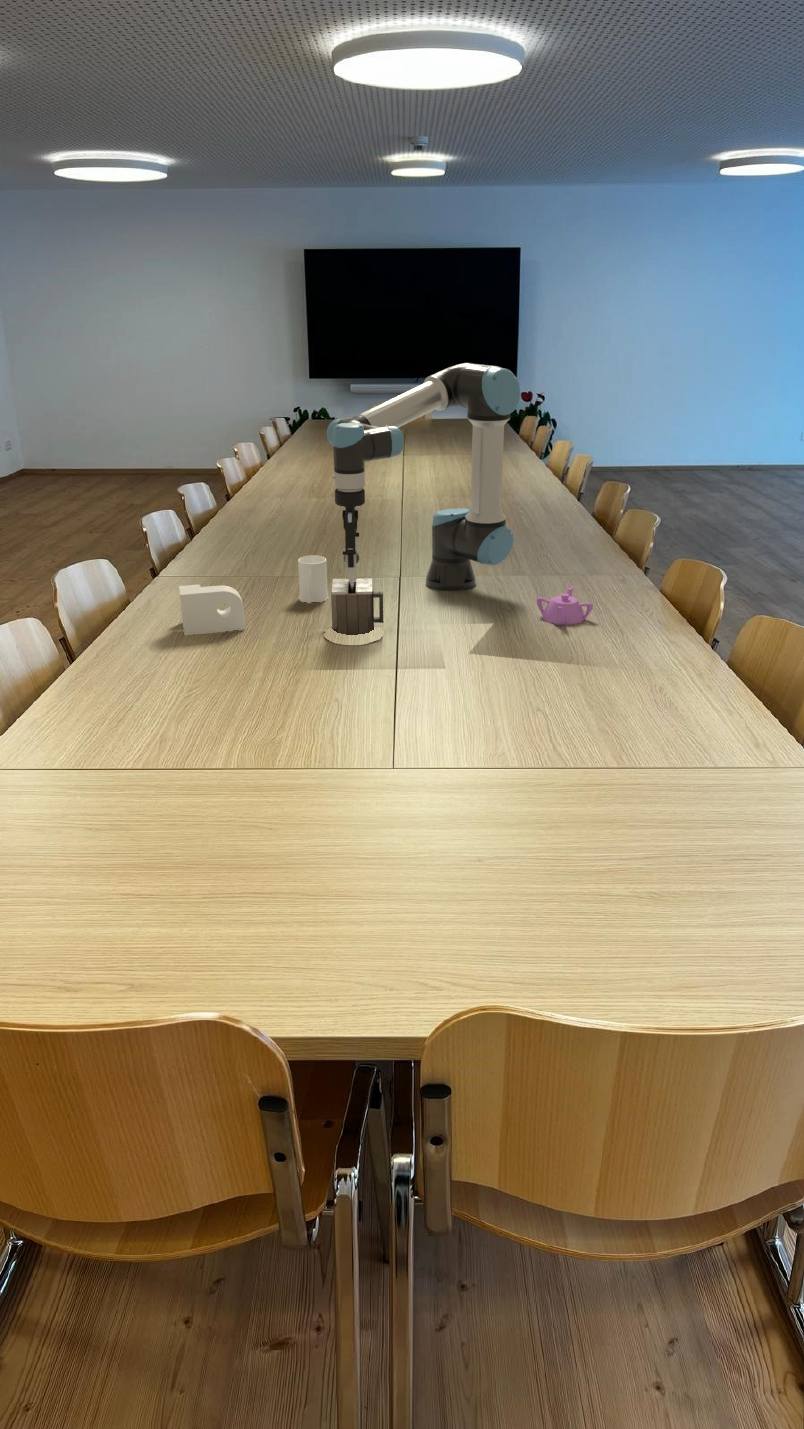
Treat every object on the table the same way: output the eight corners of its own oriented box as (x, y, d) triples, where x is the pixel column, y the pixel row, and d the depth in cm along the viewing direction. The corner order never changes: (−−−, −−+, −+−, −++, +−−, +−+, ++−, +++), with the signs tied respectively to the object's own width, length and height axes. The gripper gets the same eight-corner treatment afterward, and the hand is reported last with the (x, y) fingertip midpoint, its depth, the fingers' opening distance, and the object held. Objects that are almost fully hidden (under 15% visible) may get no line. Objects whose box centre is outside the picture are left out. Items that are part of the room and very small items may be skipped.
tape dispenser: (185, 640, 257) (180, 595, 251) (182, 626, 266) (178, 582, 260) (246, 634, 260) (242, 589, 255) (241, 620, 269) (238, 577, 264)
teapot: (569, 614, 273) (571, 584, 269) (595, 631, 262) (598, 600, 258) (531, 619, 269) (533, 589, 265) (556, 637, 258) (559, 606, 254)
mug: (323, 608, 277) (321, 568, 272) (293, 607, 278) (291, 567, 273) (331, 594, 288) (329, 555, 282) (302, 593, 289) (300, 554, 283)
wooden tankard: (383, 624, 265) (382, 577, 259) (383, 640, 254) (383, 592, 249) (332, 624, 264) (330, 578, 259) (330, 640, 254) (329, 592, 248)
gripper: (336, 476, 253) (338, 555, 263) (332, 501, 231) (335, 586, 240) (365, 476, 253) (366, 555, 263) (364, 500, 231) (366, 586, 241)
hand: (351, 570), depth 252 cm, fingers open, 13 cm apart
